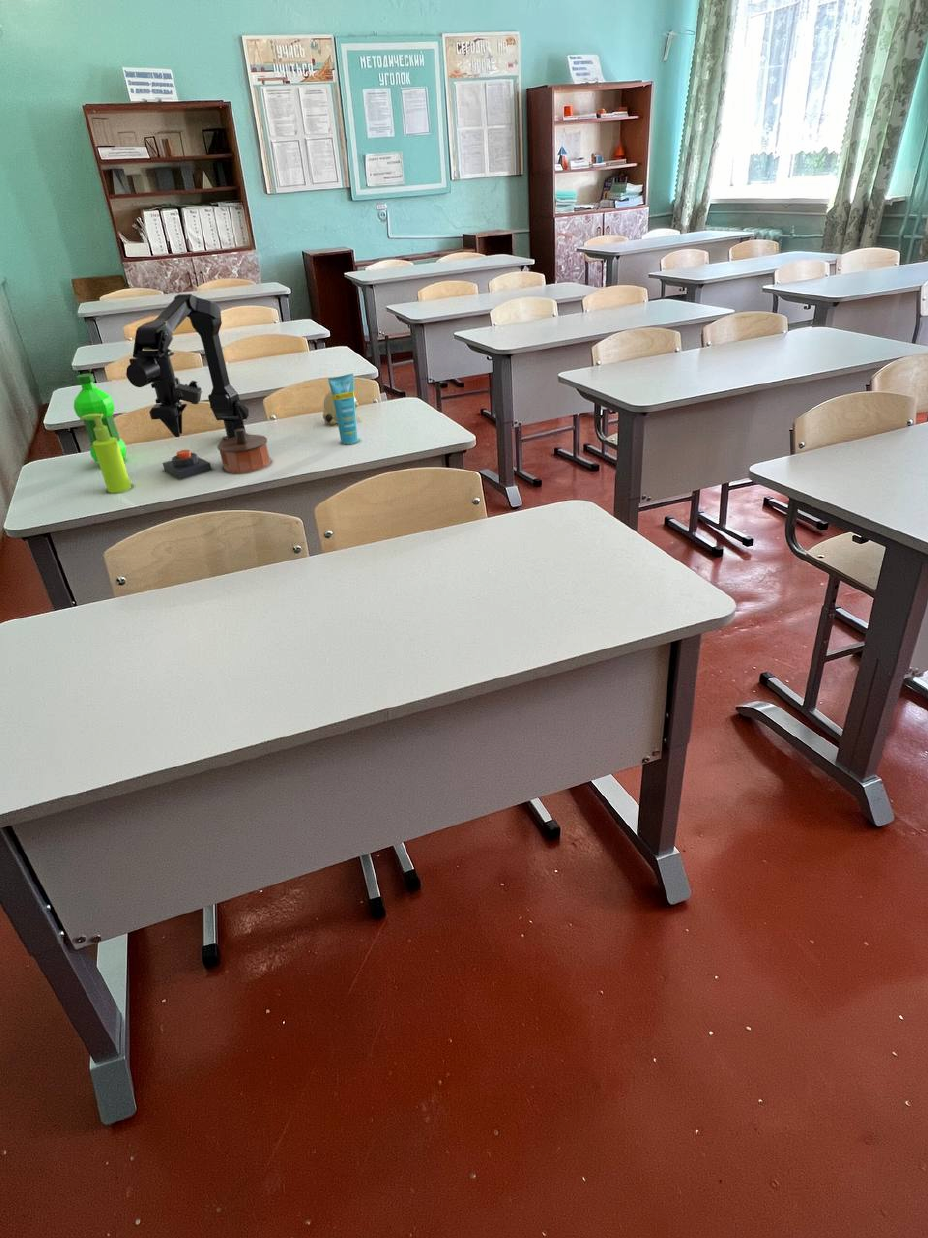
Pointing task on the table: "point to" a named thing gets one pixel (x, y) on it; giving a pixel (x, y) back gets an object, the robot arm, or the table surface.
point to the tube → (344, 407)
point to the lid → (242, 442)
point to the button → (183, 454)
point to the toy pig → (331, 409)
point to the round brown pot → (246, 460)
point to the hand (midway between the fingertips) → (178, 435)
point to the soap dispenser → (109, 457)
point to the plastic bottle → (96, 410)
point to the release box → (187, 466)
